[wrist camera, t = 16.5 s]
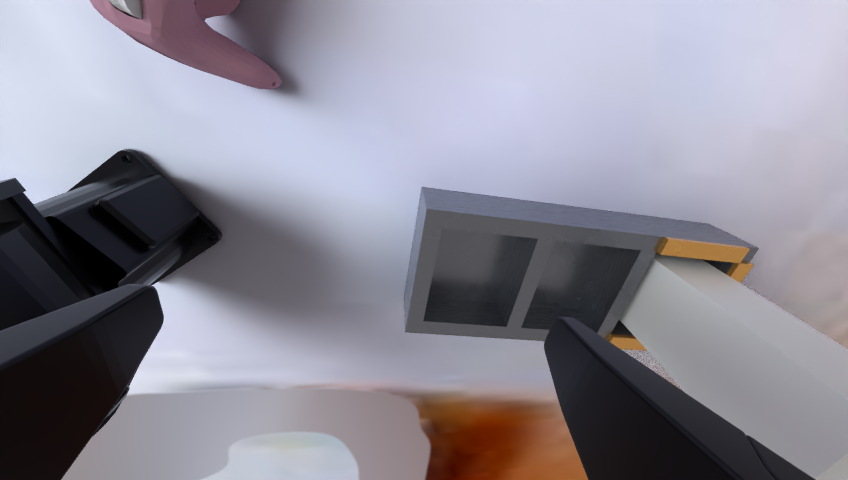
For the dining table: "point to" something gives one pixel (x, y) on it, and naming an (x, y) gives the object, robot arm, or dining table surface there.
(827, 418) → the light grey block
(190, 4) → the video game controller
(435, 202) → the rack
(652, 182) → the dining table surface
